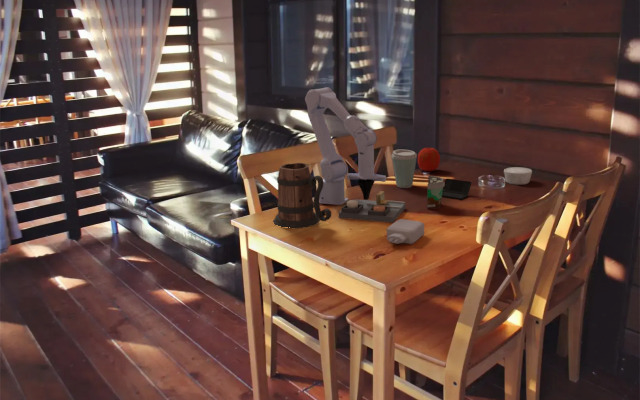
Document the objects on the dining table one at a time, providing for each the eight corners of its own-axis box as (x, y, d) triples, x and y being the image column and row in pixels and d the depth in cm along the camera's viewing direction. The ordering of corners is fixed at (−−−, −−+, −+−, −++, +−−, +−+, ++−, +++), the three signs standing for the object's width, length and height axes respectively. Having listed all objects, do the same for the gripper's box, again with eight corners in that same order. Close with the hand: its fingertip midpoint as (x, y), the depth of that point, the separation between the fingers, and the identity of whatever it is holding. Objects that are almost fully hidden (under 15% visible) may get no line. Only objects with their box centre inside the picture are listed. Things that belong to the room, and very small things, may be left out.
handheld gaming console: (434, 193, 230) (442, 171, 232) (437, 200, 236) (445, 178, 238) (463, 201, 225) (471, 178, 227) (465, 207, 231) (473, 185, 234)
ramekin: (497, 181, 251) (498, 169, 249) (517, 177, 255) (518, 165, 254) (516, 187, 241) (517, 174, 240) (537, 183, 245) (538, 171, 244)
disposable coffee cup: (420, 184, 249) (421, 149, 245) (410, 190, 240) (410, 155, 236) (398, 181, 255) (398, 147, 250) (387, 187, 246) (387, 152, 242)
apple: (417, 173, 268) (417, 148, 264) (417, 168, 277) (417, 144, 274) (439, 173, 266) (440, 148, 263) (439, 168, 275) (439, 144, 272)
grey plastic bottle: (378, 246, 183) (397, 231, 195) (406, 251, 178) (424, 236, 190) (378, 232, 181) (397, 218, 194) (406, 236, 177) (424, 222, 189)
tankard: (262, 222, 208) (259, 167, 202) (293, 210, 220) (291, 158, 215) (314, 235, 194) (312, 176, 188) (344, 221, 206) (343, 166, 200)
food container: (444, 210, 214) (445, 184, 211) (427, 210, 215) (427, 183, 212) (444, 200, 226) (444, 175, 223) (428, 200, 227) (428, 175, 224)
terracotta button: (372, 213, 207) (372, 208, 206) (375, 210, 210) (375, 204, 210) (383, 214, 205) (383, 209, 205) (386, 211, 209) (386, 205, 208)
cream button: (345, 208, 210) (345, 202, 209) (348, 204, 213) (348, 199, 213) (355, 209, 208) (355, 203, 208) (359, 205, 212) (359, 200, 211)
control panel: (338, 217, 210) (338, 208, 209) (354, 204, 225) (353, 195, 224) (393, 222, 203) (393, 213, 202) (405, 208, 218) (405, 199, 217)
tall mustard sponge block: (376, 205, 215) (376, 194, 214) (380, 201, 220) (380, 191, 219) (384, 205, 214) (384, 195, 213) (388, 202, 219) (388, 191, 218)
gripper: (343, 164, 214) (344, 200, 218) (382, 166, 209) (382, 203, 213) (350, 160, 220) (350, 195, 224) (387, 162, 215) (387, 198, 219)
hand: (366, 198), depth 219 cm, fingers closed
